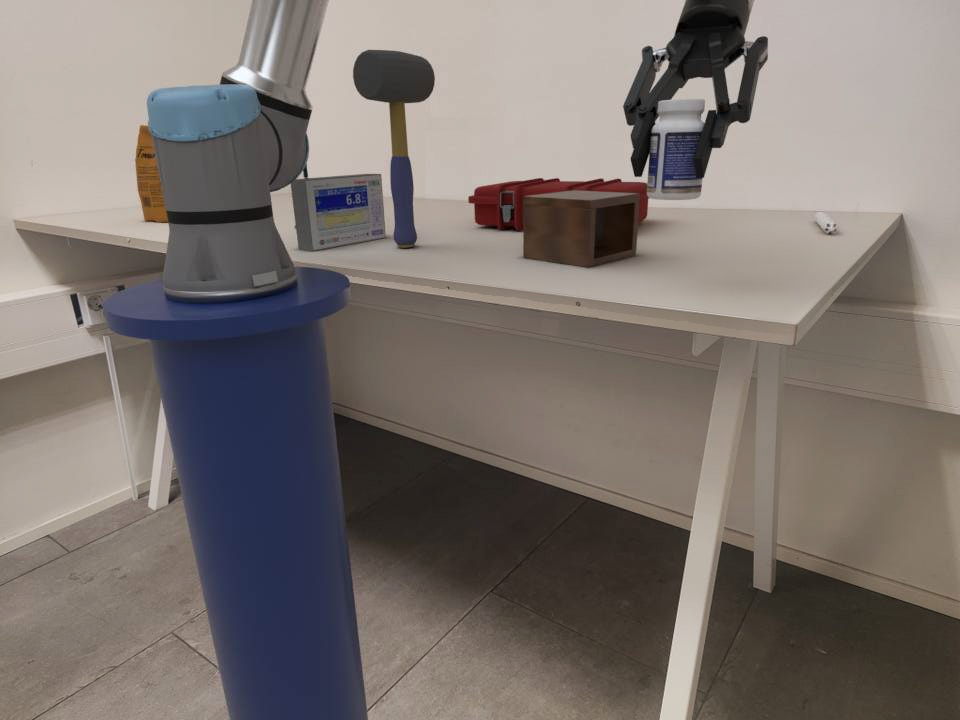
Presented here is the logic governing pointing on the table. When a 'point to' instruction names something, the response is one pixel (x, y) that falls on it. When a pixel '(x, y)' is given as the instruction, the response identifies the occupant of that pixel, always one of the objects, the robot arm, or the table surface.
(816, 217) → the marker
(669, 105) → the pill bottle
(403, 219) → the rubber mallet
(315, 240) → the electronic device
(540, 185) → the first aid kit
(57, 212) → the table surface
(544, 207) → the shelf
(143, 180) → the coffee package
